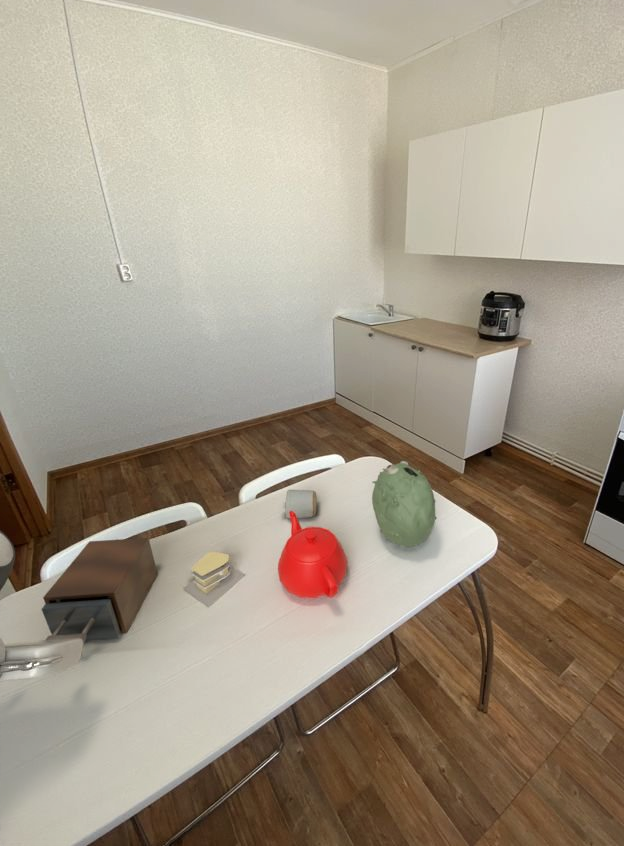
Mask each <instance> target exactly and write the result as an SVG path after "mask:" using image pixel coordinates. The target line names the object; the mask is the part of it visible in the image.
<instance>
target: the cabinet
mask: <svg viewBox="0 0 624 846" xmlns="http://www.w3.org/2000/svg"><path fill="white" fill-rule="evenodd" d="M158 575H159V573H158V569H157V566H156V562H155V558H154V553H153V550H152V546H151V541H150V538H149V537H139V538H120V539H108V540H107V539H105V540H93V541H92V540H91V541H88V542H87V544H86V545H85V546H84V547H83V548H82V549H81V551H80V552H79V553H78V555H77V556H76V557H75V558H74V559H73V561H71V563H70V564H69V566H68V567H67V568H66V569H65V571H64V572H62V574H61V575H60V577H59V578H58V579H57V580H56V581H55V582H54V584H52V586H51V587H50V588H49V589H48V591H47V592H46V593H45V595H44V596H43V597H42V598H43V601H44V605H45V604H48V603H57V602H56V600H60V599H74V598H88V597H101V596H111V598H112V602H113V605H114V608H115V611H116V614H117V617H118V621H119V624H120V626H119V628H120V631H121V634H120V635H123V634H128V632H129V631H130V628H131V626H132V624H133V622H134V621H135V619H136V617H137V615H138V613H139V611H140V609H141V607H142V606H143V604H144V602H145V600H146V598H147V596H148V594H149V593H150V590H151V589H152V586H153V584H154V582H155V581H156V580H157V577H158Z"/></svg>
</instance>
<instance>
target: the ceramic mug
mask: <svg viewBox="0 0 624 846" xmlns="http://www.w3.org/2000/svg"><path fill="white" fill-rule="evenodd" d="M290 511H293V512H294V513H295V514H296V516H297V519H298V518H299V519H300V518H301V519H303V518H312V517H315V516H316V514H317V492H316V491H315V490H311V489H287V491H286V495H285V517H286V519H290V514H289V512H290Z"/></svg>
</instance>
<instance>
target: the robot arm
mask: <svg viewBox="0 0 624 846" xmlns="http://www.w3.org/2000/svg"><path fill="white" fill-rule="evenodd" d="M15 560H16V550H15V547H14V544H13V542H12V540H11V539H10V538H9V537H8V536H7V535H6V534H5V533H4V532H3V531H2V530H0V592H1V590H2V589H3V588H4V586H5V585H6V583H7V581H8V579H9V577H10V575H11V573H12V570H13V567H14V564H15ZM83 648H84V643H83V640H82V639H81V638H71V639H58V640H46V639H44V640H34V641H33V640H32V641H22V642H9V643H8V642H7V643H4V641H3V639H2V638H1V637H0V682H8V681H9V682H10V681H21V680H32V679H38V678H41V677H42V678H43V677H47V676H50V675H55V674H58V673H62V672H65V671H68V670H71V669H73V668H75V667H77V666H78V665H79V663H80V661H81V657H82V653H83Z"/></svg>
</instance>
